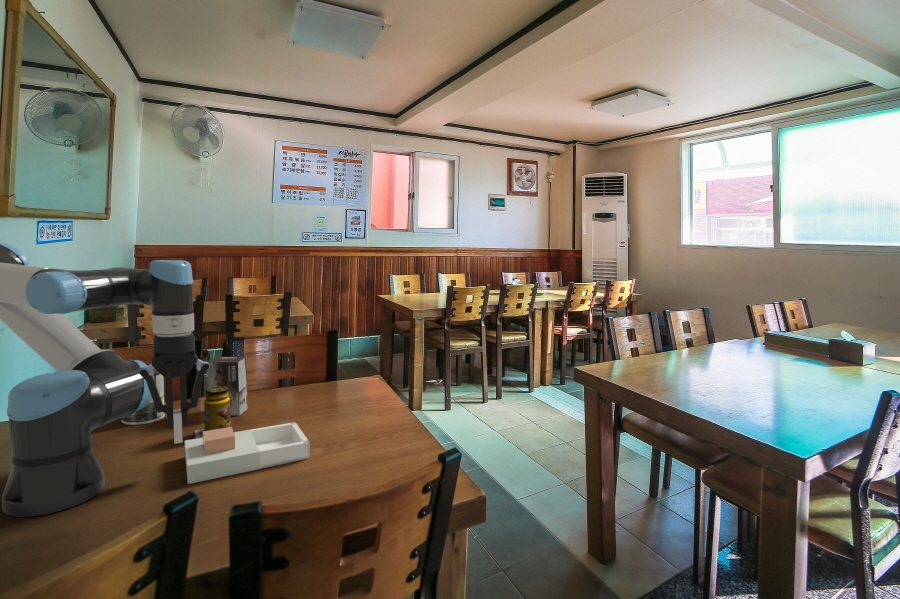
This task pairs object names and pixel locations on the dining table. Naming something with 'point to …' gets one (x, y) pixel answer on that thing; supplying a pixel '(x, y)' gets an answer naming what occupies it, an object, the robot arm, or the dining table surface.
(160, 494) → the dining table surface
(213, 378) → the coffee box
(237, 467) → the white flat block
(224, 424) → the condiment
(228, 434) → the tile
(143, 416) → the coffee can
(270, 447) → the box
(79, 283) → the robot arm
